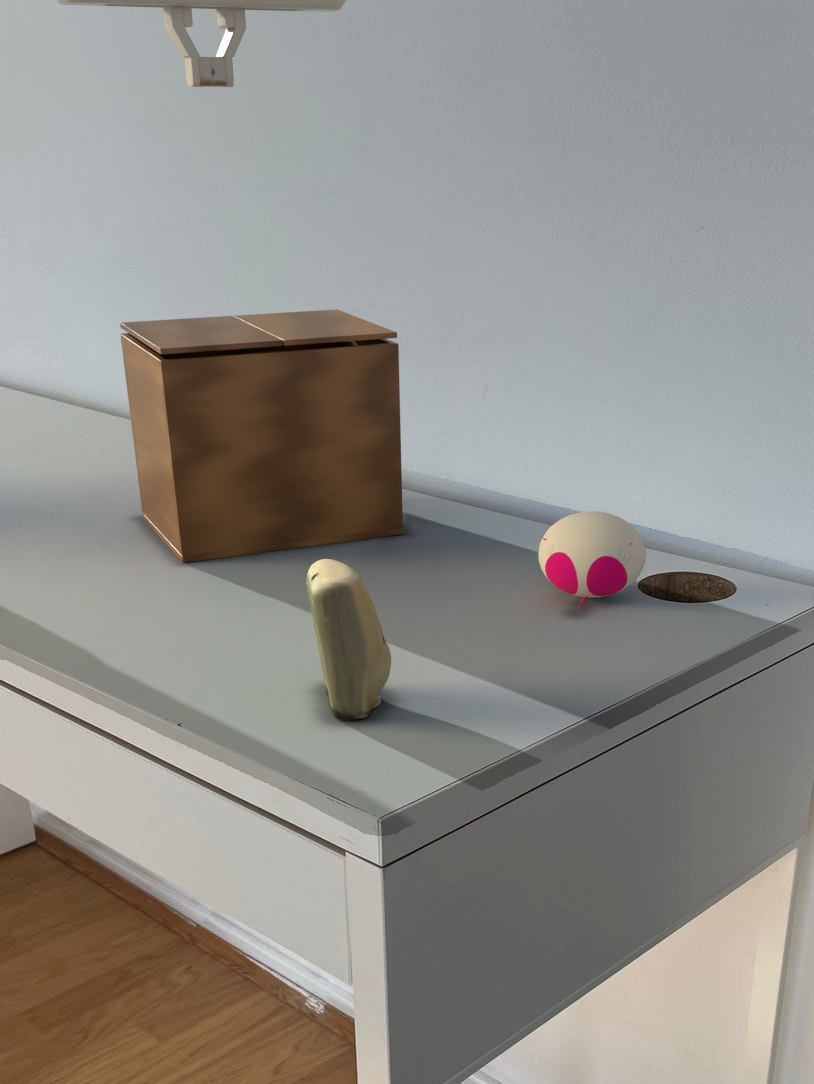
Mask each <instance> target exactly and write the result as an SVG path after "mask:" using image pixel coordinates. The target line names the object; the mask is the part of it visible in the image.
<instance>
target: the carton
mask: <svg viewBox="0 0 814 1084" xmlns="http://www.w3.org/2000/svg"><path fill="white" fill-rule="evenodd" d="M232 317H234V318H236V319H238V320H240V321H242V322H245V323H247V324H249V325H251V326H253V327H255V328H257V329H259V330H261V331H263V332H265V333H267V334H269V335H271V336H273V337H275V338H278V339H280V340H282V346H276V347H261V348H247V349H233V350H219V351H205V352H190V353H176V354H162V355H161V354H160V353H158V352H157V351H155V350H153V349H152V348H150V347H149V346H147V345H146V344H144V343H143V342H141V341H140V340H138V339H137V338H135V337H134V336H132V335H131V334H129V333H128V332H123V333H121V332H120V334H119V335H120V336H119V337H120V343H121V352H122V358H123V359H122V360H123V367H124V376H125V384H126V390H127V399H128V400H127V401H128V406H129V415H130V416H129V417H130V423H131V424H130V425H131V431H132V441H133V448H134V455H135V456H134V457H135V464H136V472H137V473H136V474H137V480H138V489H139V490H138V491H139V498H140V506H141V513H142V519H143V520H144V521H145V523H146V524H147V525H148V526H149V527H150V528H151V529H152V530H153V531H154V532H155V534H156V535H157V536H158V537H159V538H160V539H161V540H162V541H163V542H164V544H165V545H166V546H167V547H168V548H169V549H170V550H171V551H172V552H173V554H174V555H175V556H176V557H177V558H178V560H180V562H182V563H191V562H192V563H193V562H199V561H206V560H216V559H223V558H232V557H238V556H245V555H246V556H247V555H253V554H260V553H267V552H268V553H269V552H276V551H277V552H278V551H283V550H289V549H290V550H293V549H299V548H307V547H314V546H322V545H329V544H336V543H337V544H338V543H345V542H346V543H347V542H352V541H353V542H354V541H360V540H367V539H375V538H382V537H383V538H384V537H390V536H398V535H399V536H400V535H403V534H404V521H403V520H404V516H403V513H404V512H403V477H402V476H403V475H402V474H403V473H402V471H403V470H402V433H401V432H402V430H401V429H402V428H401V393H400V350H399V343H398V342H395V341H392V340H390V339H397V338H398V332H397V331H394V330H392V329H390V328H386V327H385V326H382V325H379V324H377V323H374V322H371V321H368V320H365V319H364V318H361V317H358V316H355V315H353V314H350V313H348V312H345V311H342V310H340V309H337V308H335V309H323V310H322V309H321V310H319V309H318V310H303V311H288V312H272V313H255V314H240V315H239V314H238V315H233V316H232Z"/></svg>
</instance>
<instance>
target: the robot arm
mask: <svg viewBox="0 0 814 1084" xmlns="http://www.w3.org/2000/svg"><path fill="white" fill-rule="evenodd" d="M346 1H347V0H56V2H57V3H58V4H60V5H62V6H89V7H90V6H91V7H92V6H93V7H94V6H95V7H127V8H128V7H129V8H162V10H163V18H164V19H163V20H164V27H165V30H166V32H167V33H168V35H169V37H170V39H171V41H172V42H173V43H174V45H175V47H176V48H177V50H178V52H179V53H180V56H181V57H183V58H184V59H183V60H184V69H185V81H186V85H187V87H189V88H233V87H234V86H235V85H234V84H235V76H234V63H233V58H234V57H236V53H237V51H238V48H239V46H240V44H241V42H242V39H243V37H244V34H245V32H246V29H247V23H246V11H270V12H271V11H273V12H274V11H276V12H277V11H278V12H307V13H309V12H311V13H313V12H314V13H315V12H316V13H330V12H337V11H340V10H342V9H343V7H344V5H345V3H346ZM193 9H197V10H198V9H202V10H215V11H216V22H217V27H218V29H221V30H222V29H225V32H224V34H223V36H222V40H221V42H220V44H219V48H218V50H217V53H216V55H215V56H201V55H200V52H199V51H198V50H197V47H196V46H195V44H194V42H193V39H192V38H191V37H190V35H189V33H188V31H187V29H186V28H191V27H193V25H194V24H193V22H194V21H193Z"/></svg>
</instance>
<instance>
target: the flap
mask: <svg viewBox="0 0 814 1084" xmlns="http://www.w3.org/2000/svg"><path fill="white" fill-rule="evenodd" d="M119 326H120V329H121V330H123V331H125V333H129V334H131V335H132V336H134V337H135V338H137V339H138V340H140V341H141V342H143V343H144V344H146V345H147V346H149V347H150V348H152V349H153V350H155V351H157V352H158V353H160V354H161V355H162V354H176V353H190V352H205V351H219V350H233V349H247V348H261V347H276V346H282V340H280V339H278V338H275V337H273V336H271V335H269V334H267V333H265V332H263V331H261V330H259V329H257V328H255V327H253V326H251V325H249V324H247V323H245V322H242V321H240V320H238V319H236V318H234V317H233V316H232V315H222V316H207V317H206V316H205V317H190V318H188V317H187V318H175V319H171V318H170V319H157V320H142V321H141V320H140V321H139V320H138V321H124V322H119Z"/></svg>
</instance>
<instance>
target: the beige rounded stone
mask: <svg viewBox="0 0 814 1084" xmlns="http://www.w3.org/2000/svg"><path fill="white" fill-rule="evenodd" d="M305 579H306V588H307V590H306V591H307V596H308V600H309V605H310V608H311V615H312V622H313V627H314V632H315V639H316V643H317V648H318V656H319V662H320V667H321V672H322V676H323V680H324V685H325V695H326V697H327V699H328V704H329V708H330V711H331V715H332V717H334V718H335V719H338V720H342V721H343V720H345V721H346V720H359V719H364V718H367V717H368V716H370V714H371V711H372V709H375V708H377V707H379V706H380V705H381V703H382V697H381V696H379V694H380V693H381V691H382V690H383V689H384V687H385V685H386V684H387V682H388V680H389V677H390V674H391V668H392V667H391V666H392V655H391V653H392V652H391V650H390V647H389V644H388V643H387V641H386V639H385V636H384V631H383V628H382V624H381V623H380V622H381V621H380V620H379V616H378V613H377V610H376V608H375V605H374V603H373V600H372V598H371V595H370V594H369V592H368V590H367V588H366V585H365V584H364V581H363V580H362V577H361V576H360V574H359V573H358V571H356V570H355V569H354V568H352V566H351V567H350V566H349V565H347V564H345V563H343V562H342V561H338V560H336V559H330V558H323V559H322V558H321V559H319V560H316V561H314V563H312V564H311V565H310V567H309V568H308V572H307V573H306V578H305Z"/></svg>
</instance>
